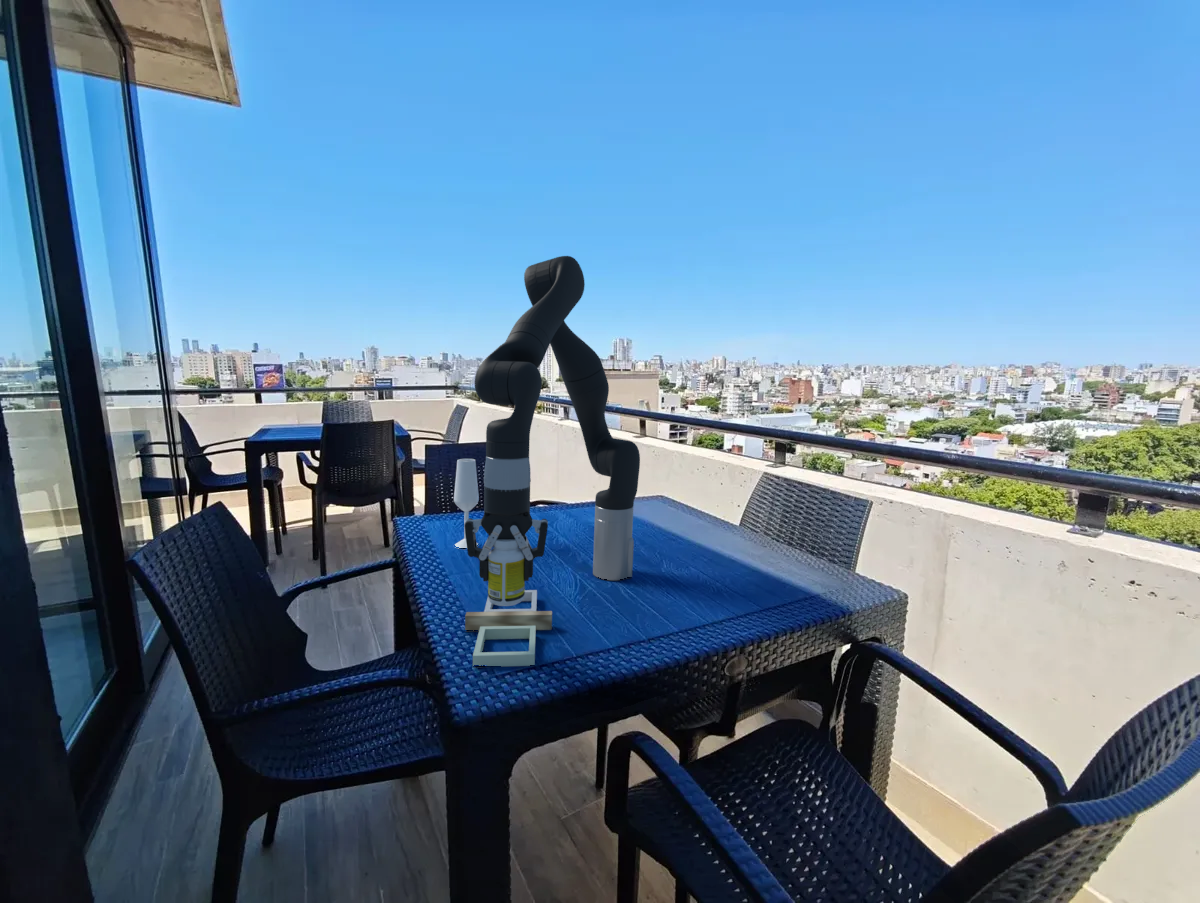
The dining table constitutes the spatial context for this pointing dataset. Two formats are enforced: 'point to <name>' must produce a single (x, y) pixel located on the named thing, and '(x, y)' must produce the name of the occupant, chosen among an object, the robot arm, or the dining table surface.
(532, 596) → the keeper
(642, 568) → the dining table surface
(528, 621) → the edge strip
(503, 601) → the pill bottle
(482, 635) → the keeper
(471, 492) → the champagne flute
